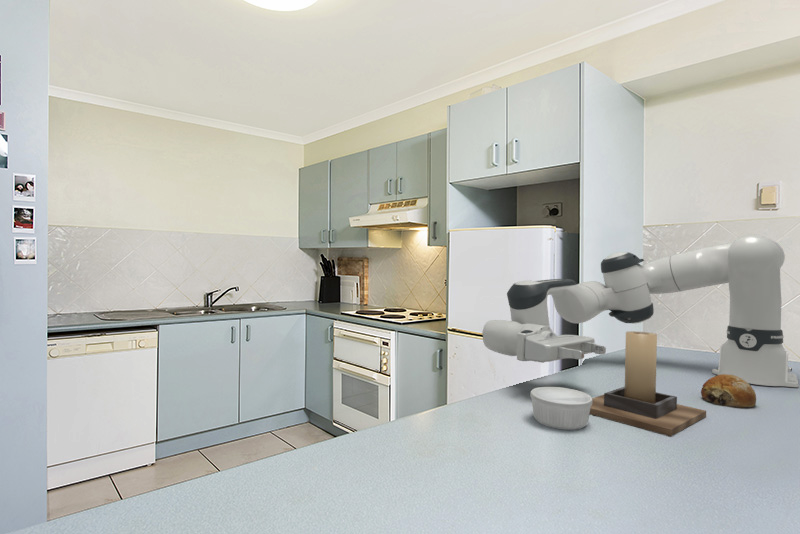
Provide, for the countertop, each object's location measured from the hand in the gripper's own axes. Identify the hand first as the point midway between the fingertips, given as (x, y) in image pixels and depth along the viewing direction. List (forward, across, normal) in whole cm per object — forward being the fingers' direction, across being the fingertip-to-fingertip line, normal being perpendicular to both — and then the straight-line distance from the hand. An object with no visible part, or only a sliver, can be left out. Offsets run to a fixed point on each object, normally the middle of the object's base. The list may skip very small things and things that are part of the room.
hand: (593, 352), depth 100 cm
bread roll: (+18, -26, -11) cm, 33 cm away
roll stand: (+10, 0, -11) cm, 15 cm away
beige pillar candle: (+10, 0, -10) cm, 14 cm away
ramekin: (+3, +18, -11) cm, 21 cm away
